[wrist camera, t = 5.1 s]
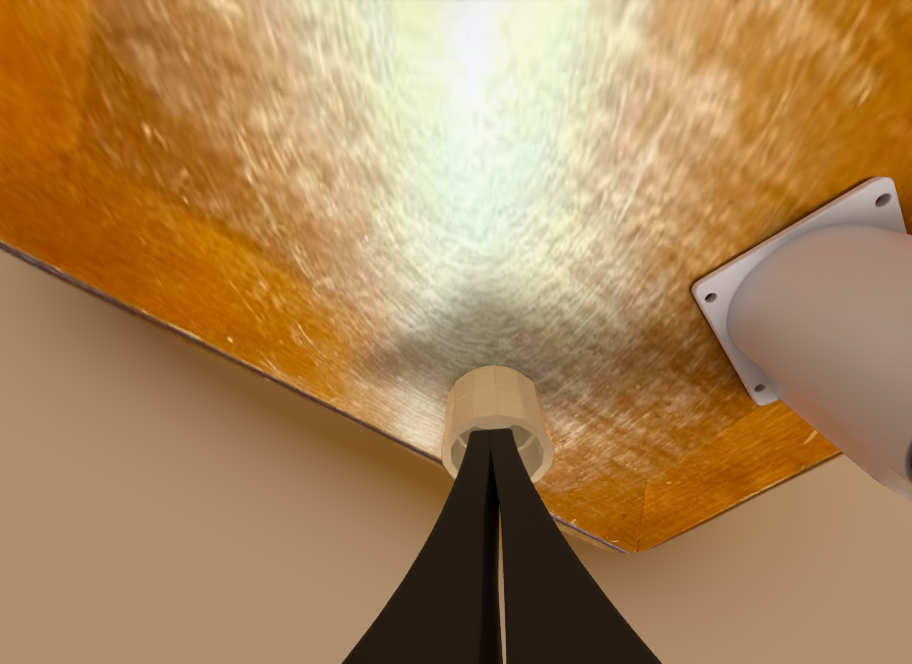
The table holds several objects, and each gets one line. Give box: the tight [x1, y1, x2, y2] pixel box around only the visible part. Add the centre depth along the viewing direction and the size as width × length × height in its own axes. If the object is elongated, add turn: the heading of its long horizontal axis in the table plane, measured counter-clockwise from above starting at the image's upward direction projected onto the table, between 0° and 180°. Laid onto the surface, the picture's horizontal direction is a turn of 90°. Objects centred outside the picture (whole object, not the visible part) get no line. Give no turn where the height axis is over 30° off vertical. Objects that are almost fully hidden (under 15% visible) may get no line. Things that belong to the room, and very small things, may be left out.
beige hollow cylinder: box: [441, 365, 554, 483], centre depth 19 cm, size 6×6×4 cm
